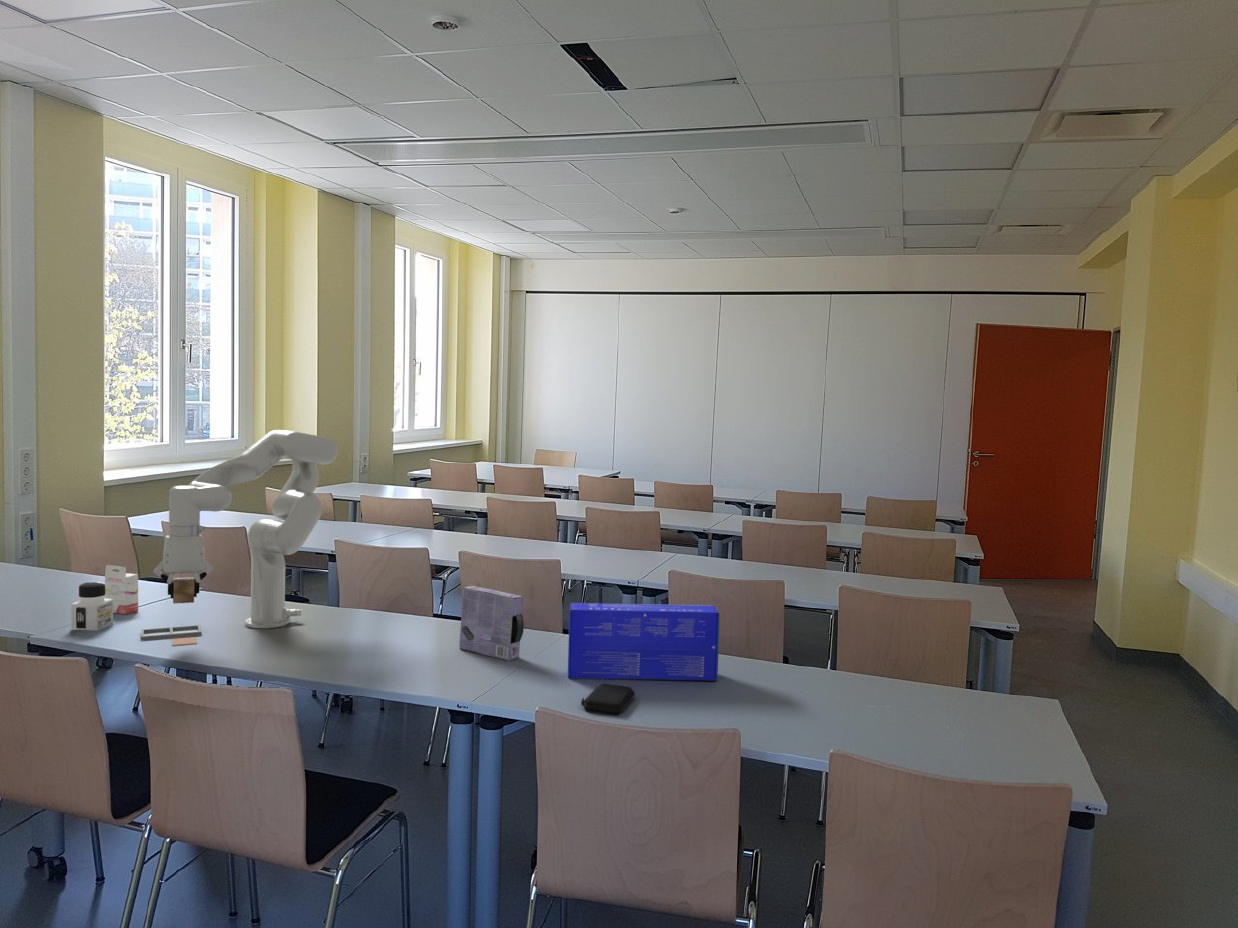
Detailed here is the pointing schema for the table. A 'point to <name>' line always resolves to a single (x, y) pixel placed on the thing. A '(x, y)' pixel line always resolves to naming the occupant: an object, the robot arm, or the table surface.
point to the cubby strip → (171, 632)
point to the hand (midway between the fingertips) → (183, 596)
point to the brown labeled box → (183, 590)
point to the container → (91, 608)
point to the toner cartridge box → (643, 642)
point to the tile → (184, 641)
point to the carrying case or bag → (608, 699)
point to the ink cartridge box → (121, 589)
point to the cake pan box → (491, 622)
